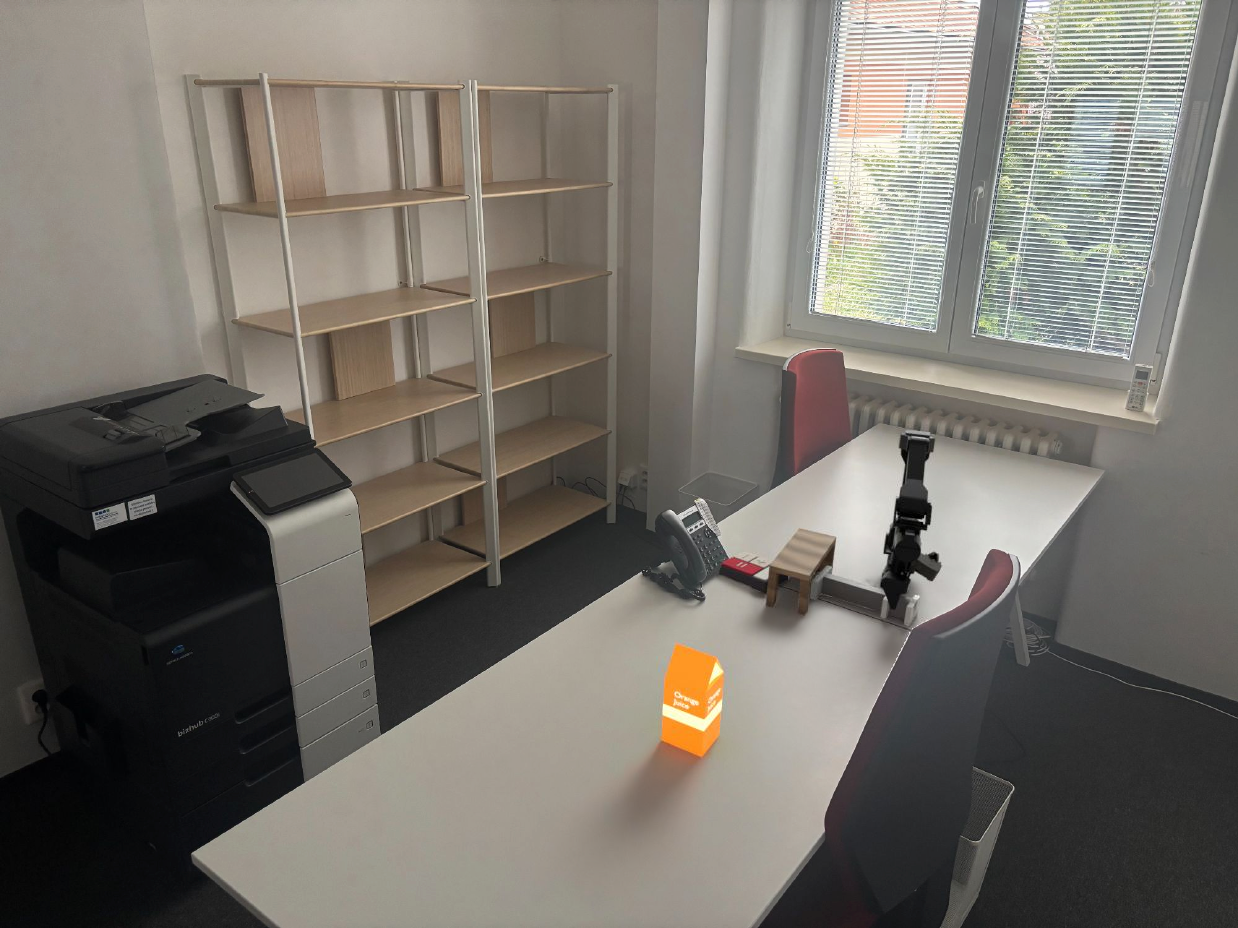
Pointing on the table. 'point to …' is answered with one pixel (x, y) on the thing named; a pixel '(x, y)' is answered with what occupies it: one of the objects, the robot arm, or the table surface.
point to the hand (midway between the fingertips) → (897, 600)
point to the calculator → (749, 571)
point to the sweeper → (862, 595)
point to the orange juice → (692, 700)
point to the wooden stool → (801, 563)
